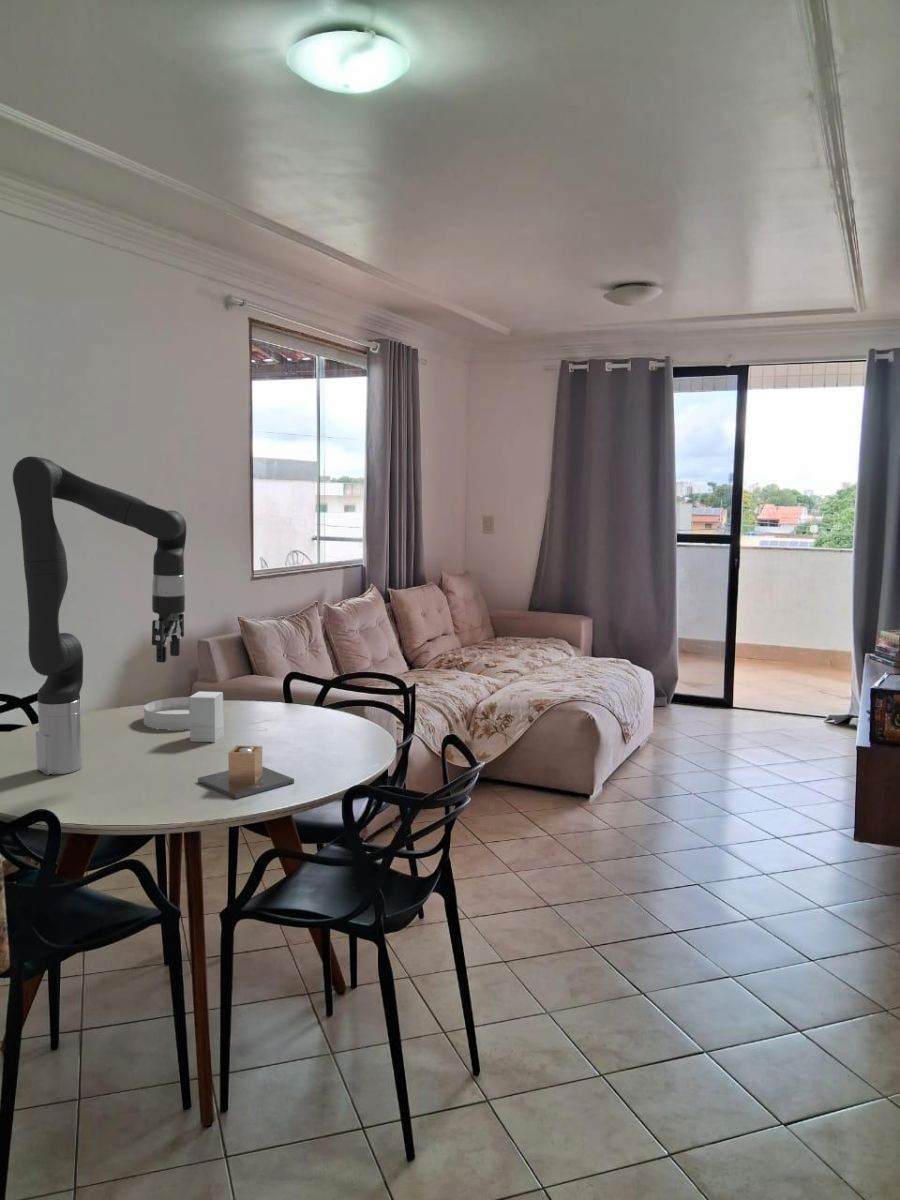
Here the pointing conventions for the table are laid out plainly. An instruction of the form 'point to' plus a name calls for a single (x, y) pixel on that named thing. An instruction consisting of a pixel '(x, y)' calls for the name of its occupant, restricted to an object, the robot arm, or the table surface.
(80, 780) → the table surface
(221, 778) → the grey square plate
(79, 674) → the robot arm
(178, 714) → the dish
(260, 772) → the wooden cubby box
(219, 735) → the supplement box
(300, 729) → the table surface
